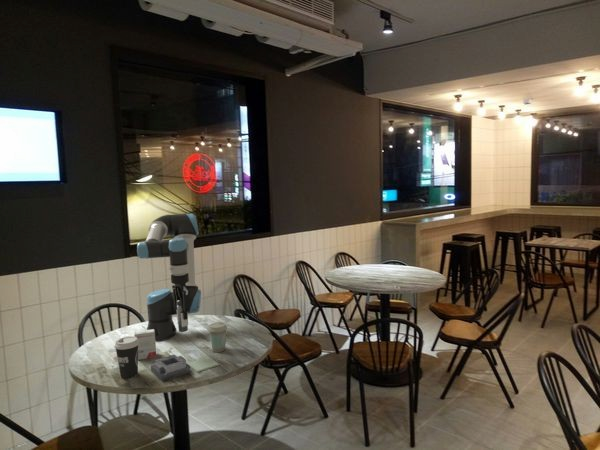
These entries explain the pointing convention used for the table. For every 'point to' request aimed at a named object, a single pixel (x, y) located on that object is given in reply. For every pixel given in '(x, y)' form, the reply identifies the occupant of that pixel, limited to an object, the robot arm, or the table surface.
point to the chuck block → (170, 367)
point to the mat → (202, 364)
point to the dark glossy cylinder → (181, 329)
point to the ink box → (146, 344)
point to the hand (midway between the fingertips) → (182, 324)
